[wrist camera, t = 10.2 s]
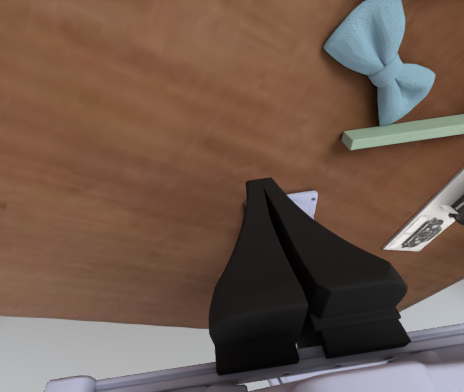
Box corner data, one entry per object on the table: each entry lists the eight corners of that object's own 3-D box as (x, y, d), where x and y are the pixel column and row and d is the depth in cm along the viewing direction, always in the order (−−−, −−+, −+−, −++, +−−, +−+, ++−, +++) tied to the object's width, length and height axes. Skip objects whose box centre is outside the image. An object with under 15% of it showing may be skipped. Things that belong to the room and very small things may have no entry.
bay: (481, 120, 22) (499, 128, 21) (340, 140, 22) (350, 150, 21) (616, -91, 14) (662, -99, 12) (387, -60, 13) (408, -65, 12)
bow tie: (453, 88, 18) (391, 135, 20) (437, 82, 19) (380, 127, 21) (402, -34, 13) (327, 46, 15) (385, -32, 14) (318, 42, 16)
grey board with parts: (463, 164, 26) (503, 190, 22) (507, 171, 27) (550, 196, 24) (381, 246, 35) (400, 273, 32) (416, 248, 37) (438, 274, 33)
